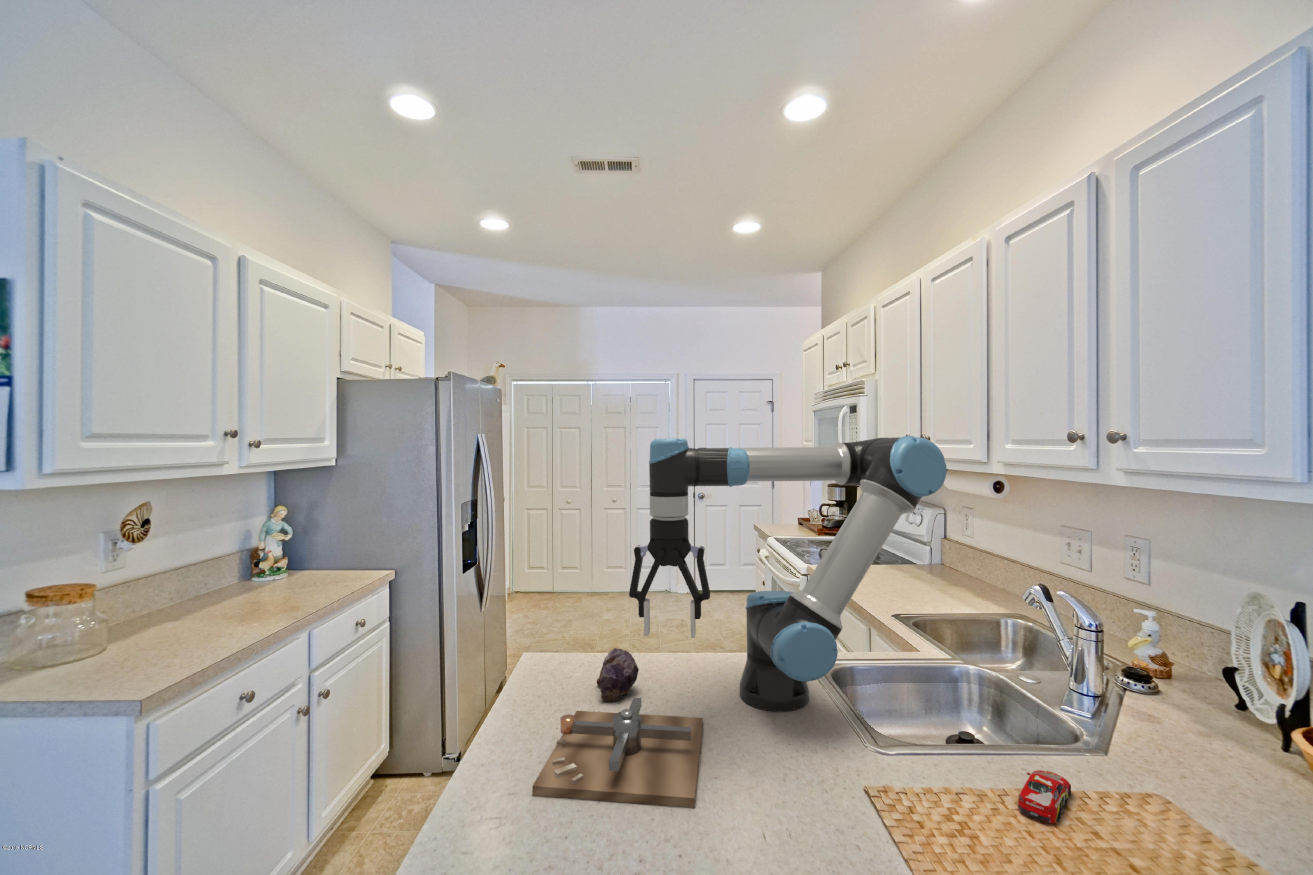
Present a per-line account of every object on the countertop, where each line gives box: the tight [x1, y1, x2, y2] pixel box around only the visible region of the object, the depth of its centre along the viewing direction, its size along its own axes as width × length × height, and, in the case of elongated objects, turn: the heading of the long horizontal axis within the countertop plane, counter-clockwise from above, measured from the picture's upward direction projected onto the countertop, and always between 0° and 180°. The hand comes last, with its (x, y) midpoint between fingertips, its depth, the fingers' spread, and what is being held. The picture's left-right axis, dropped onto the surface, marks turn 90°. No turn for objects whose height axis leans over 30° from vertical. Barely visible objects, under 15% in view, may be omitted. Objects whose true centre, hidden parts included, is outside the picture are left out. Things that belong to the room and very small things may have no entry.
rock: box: [596, 647, 640, 703], centre depth 128 cm, size 12×9×10 cm
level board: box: [531, 710, 704, 809], centre depth 101 cm, size 26×26×2 cm
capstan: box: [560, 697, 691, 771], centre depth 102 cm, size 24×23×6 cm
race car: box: [1017, 769, 1072, 824], centre depth 88 cm, size 13×5×4 cm, turn 133°
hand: (670, 634), depth 109 cm, fingers open, 8 cm apart
